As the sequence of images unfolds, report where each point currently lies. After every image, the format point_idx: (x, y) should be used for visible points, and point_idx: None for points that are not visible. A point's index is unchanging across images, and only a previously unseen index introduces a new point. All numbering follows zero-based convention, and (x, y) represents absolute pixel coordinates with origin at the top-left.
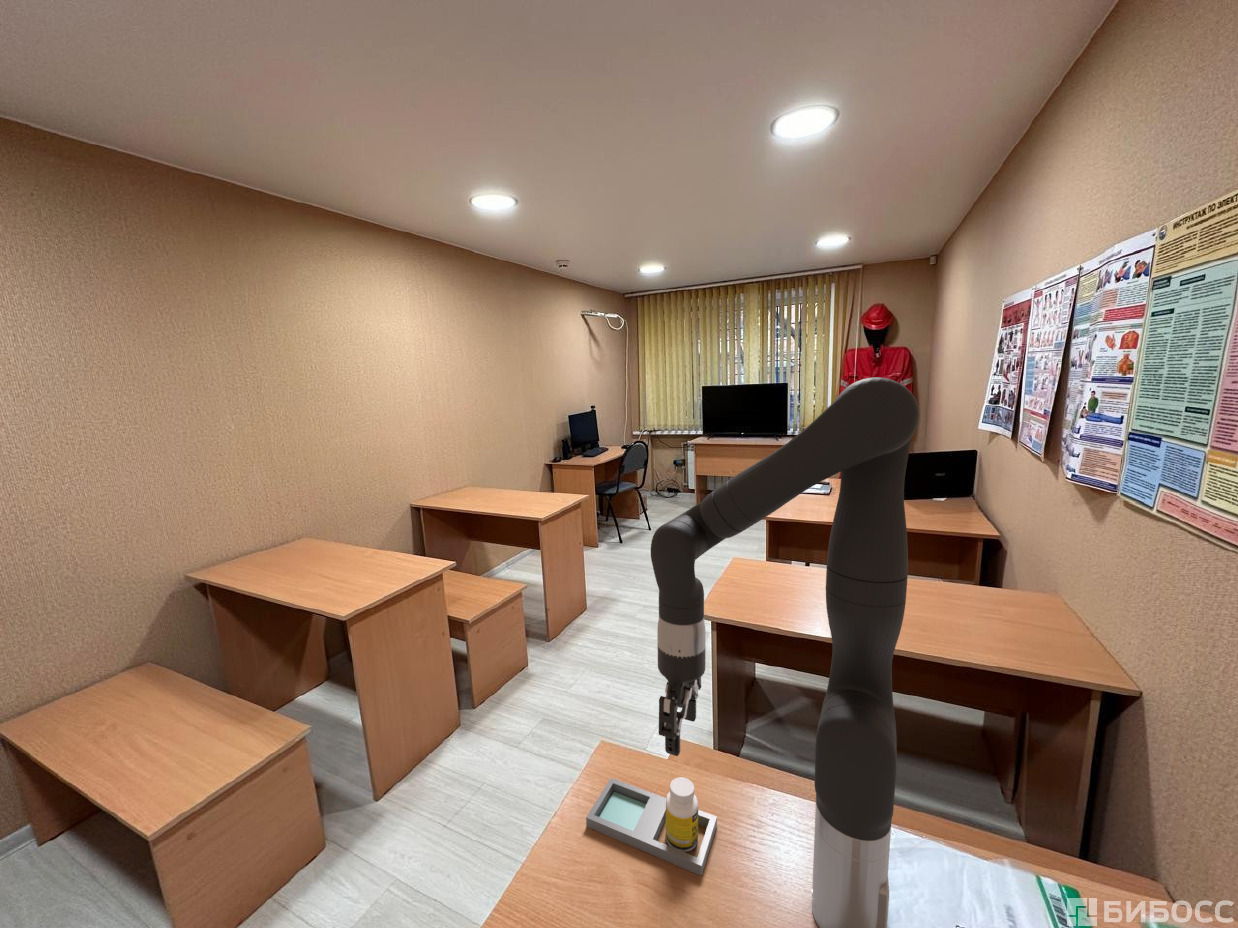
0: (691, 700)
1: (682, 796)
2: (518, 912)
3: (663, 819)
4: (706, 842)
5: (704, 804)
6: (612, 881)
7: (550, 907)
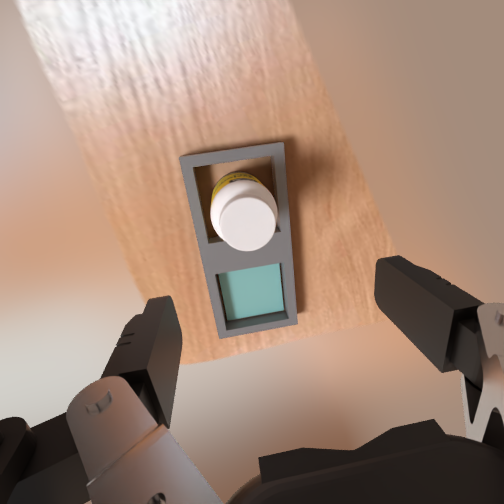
0: (146, 389)
1: (272, 212)
2: None
3: None
4: (239, 152)
5: (154, 194)
6: (343, 246)
7: None
